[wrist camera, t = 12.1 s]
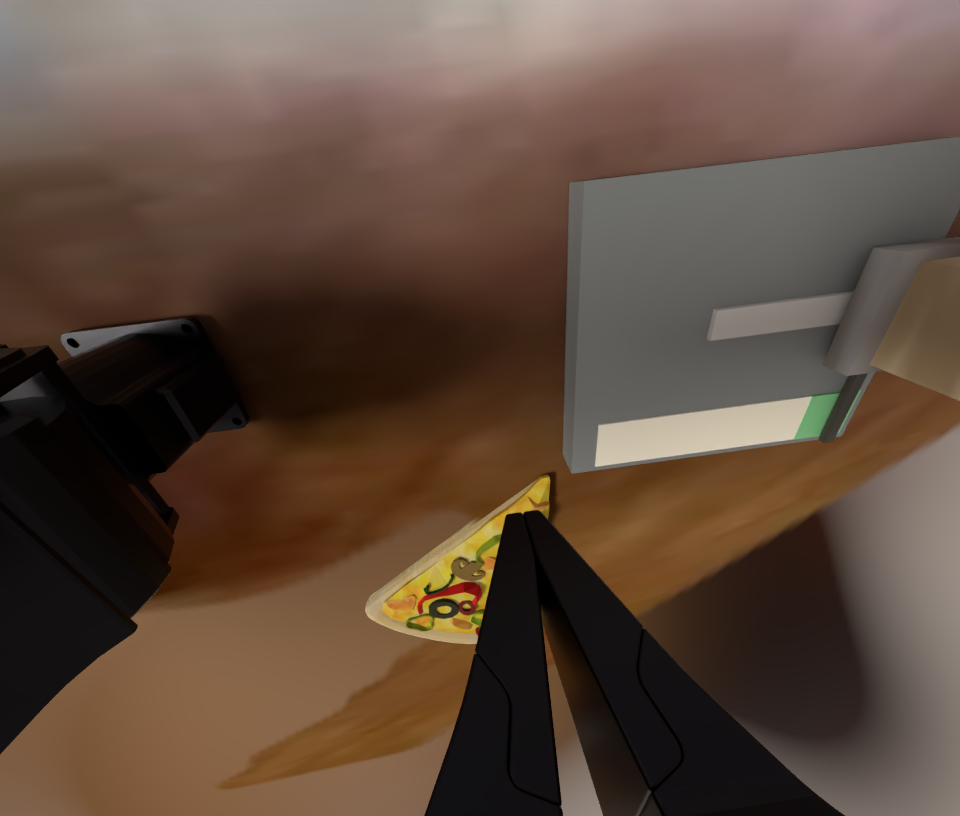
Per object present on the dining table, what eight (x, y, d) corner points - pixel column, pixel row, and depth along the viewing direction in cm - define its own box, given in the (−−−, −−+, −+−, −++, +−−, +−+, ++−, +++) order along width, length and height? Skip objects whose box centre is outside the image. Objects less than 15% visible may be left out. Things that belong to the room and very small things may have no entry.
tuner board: (562, 454, 25) (573, 476, 23) (569, 182, 17) (586, 180, 15) (814, 419, 25) (846, 438, 23) (944, 138, 17) (1009, 130, 15)
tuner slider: (784, 443, 23) (933, 552, 16) (868, 247, 17) (1164, 284, 10) (860, 433, 23) (1040, 536, 16) (970, 234, 17) (1331, 262, 10)
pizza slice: (362, 607, 33) (355, 642, 30) (448, 434, 24) (449, 463, 21) (510, 631, 37) (515, 663, 35) (629, 492, 28) (648, 522, 26)
